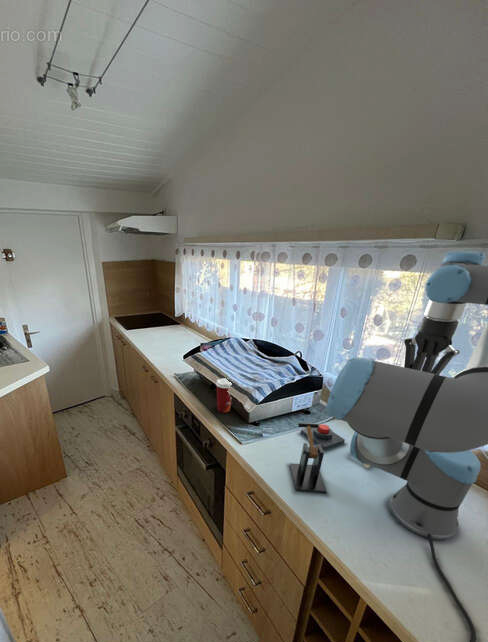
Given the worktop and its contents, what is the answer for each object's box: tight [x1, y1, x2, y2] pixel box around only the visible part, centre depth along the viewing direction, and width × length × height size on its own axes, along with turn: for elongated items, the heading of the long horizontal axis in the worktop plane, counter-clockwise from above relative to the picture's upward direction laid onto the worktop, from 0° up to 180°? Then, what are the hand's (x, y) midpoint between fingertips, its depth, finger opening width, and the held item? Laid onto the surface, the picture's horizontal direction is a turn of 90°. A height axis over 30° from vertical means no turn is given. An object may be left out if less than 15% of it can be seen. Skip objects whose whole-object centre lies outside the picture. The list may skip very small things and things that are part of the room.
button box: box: [300, 423, 346, 451], centre depth 116 cm, size 12×10×4 cm
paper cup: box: [215, 377, 233, 414], centre depth 134 cm, size 8×8×14 cm
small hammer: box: [297, 422, 319, 460], centre depth 96 cm, size 12×6×2 cm, turn 172°
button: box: [318, 423, 330, 434], centre depth 115 cm, size 4×4×2 cm
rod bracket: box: [289, 442, 327, 494], centre depth 95 cm, size 12×9×13 cm
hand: (410, 398), depth 90 cm, fingers closed
